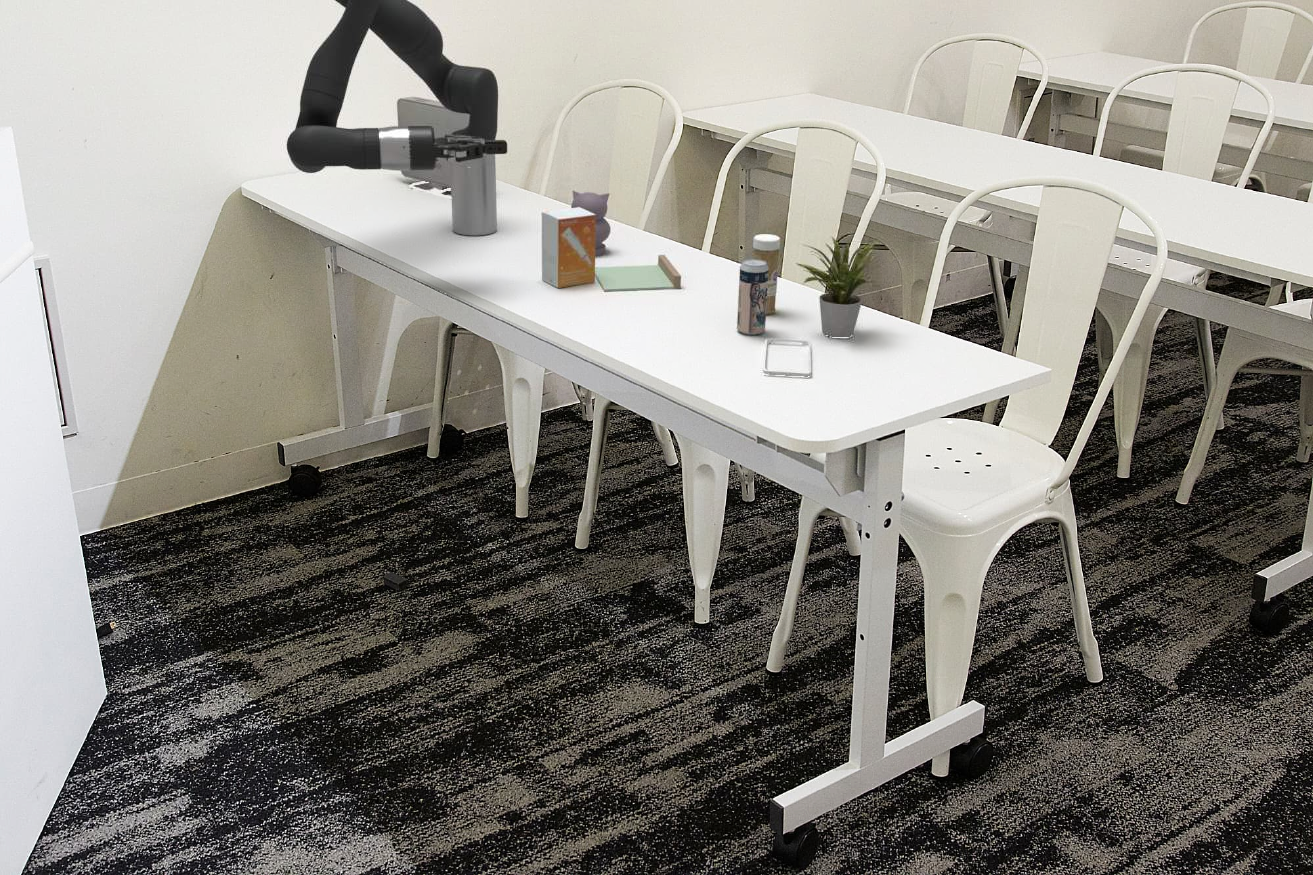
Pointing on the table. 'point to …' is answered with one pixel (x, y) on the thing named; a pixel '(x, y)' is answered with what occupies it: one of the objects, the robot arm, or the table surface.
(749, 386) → the table surface
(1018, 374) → the table surface
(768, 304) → the sprinkles bottle
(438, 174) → the network device
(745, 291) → the beer can
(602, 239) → the cat figurine
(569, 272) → the small box
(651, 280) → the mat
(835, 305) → the house plant
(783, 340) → the white phone case
